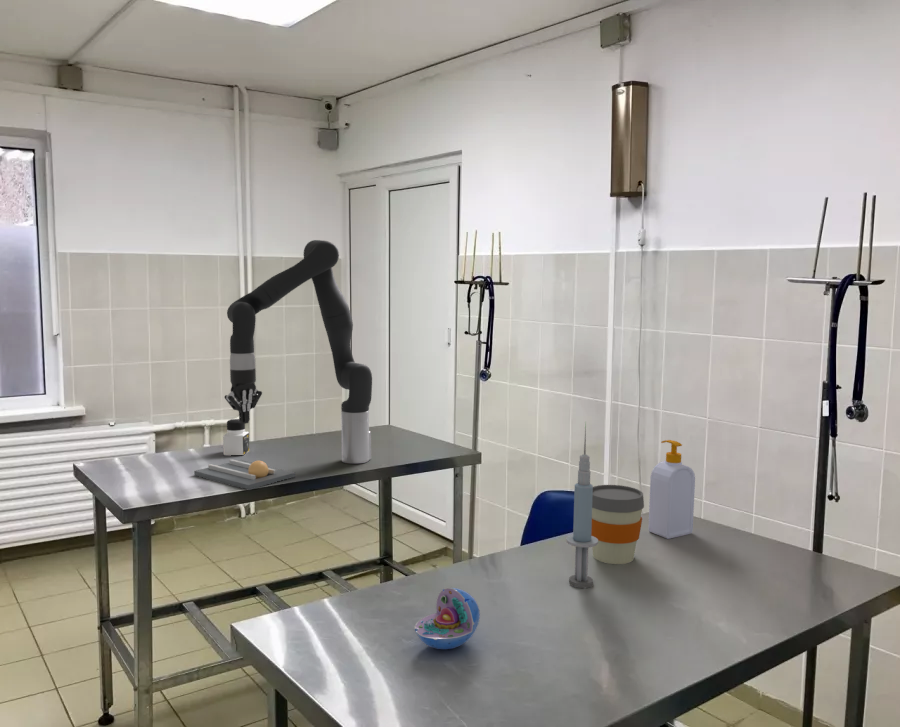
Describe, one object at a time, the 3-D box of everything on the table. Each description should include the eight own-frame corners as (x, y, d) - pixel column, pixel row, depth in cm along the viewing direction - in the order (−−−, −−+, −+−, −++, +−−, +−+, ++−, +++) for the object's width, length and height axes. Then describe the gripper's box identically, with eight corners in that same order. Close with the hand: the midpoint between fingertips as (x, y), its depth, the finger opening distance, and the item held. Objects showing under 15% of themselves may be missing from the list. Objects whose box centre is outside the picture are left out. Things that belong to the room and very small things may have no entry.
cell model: (401, 645, 130) (401, 591, 129) (455, 625, 137) (455, 574, 136) (438, 668, 122) (439, 611, 121) (493, 646, 130) (494, 592, 129)
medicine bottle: (243, 455, 263) (242, 421, 262) (223, 455, 264) (222, 421, 262) (249, 451, 270) (248, 417, 269) (229, 450, 271) (228, 417, 269)
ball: (271, 458, 233) (273, 478, 233) (259, 461, 237) (261, 480, 236) (255, 460, 229) (257, 480, 228) (243, 462, 232) (245, 482, 231)
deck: (241, 464, 252) (241, 456, 251) (295, 477, 236) (295, 468, 236) (194, 475, 237) (194, 467, 237) (248, 490, 222) (248, 480, 222)
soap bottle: (671, 525, 194) (675, 437, 191) (692, 533, 188) (697, 442, 185) (645, 531, 189) (649, 440, 187) (666, 539, 183) (670, 446, 181)
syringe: (597, 588, 154) (601, 419, 150) (565, 587, 155) (568, 418, 151) (596, 578, 159) (599, 415, 156) (565, 577, 160) (568, 414, 157)
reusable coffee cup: (575, 559, 170) (577, 493, 168) (598, 543, 180) (600, 481, 179) (629, 571, 163) (632, 503, 161) (650, 554, 173) (652, 490, 172)
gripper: (232, 370, 225) (234, 428, 227) (267, 366, 235) (269, 421, 238) (216, 368, 229) (218, 425, 232) (252, 364, 240) (253, 418, 242)
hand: (244, 423), depth 235 cm, fingers closed
